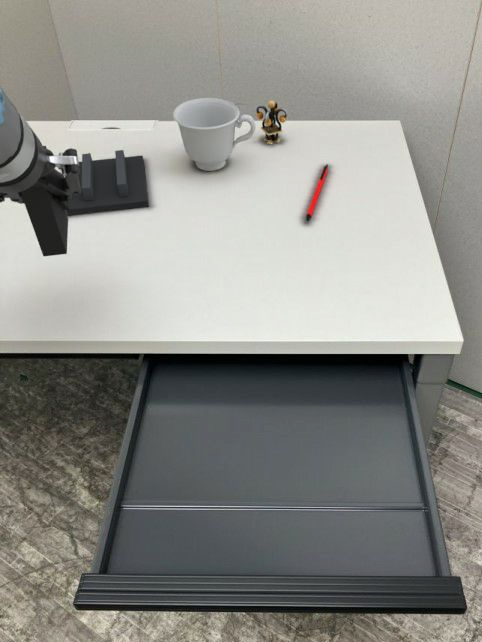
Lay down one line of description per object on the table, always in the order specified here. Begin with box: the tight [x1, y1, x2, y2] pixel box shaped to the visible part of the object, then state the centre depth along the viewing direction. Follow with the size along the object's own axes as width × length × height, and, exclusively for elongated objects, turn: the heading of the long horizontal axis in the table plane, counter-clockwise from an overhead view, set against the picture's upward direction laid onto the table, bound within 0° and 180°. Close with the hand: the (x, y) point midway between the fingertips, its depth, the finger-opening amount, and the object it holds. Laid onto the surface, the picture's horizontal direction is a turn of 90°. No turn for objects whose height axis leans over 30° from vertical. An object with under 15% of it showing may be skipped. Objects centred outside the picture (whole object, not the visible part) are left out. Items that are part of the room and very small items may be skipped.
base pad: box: [66, 149, 150, 217], centre depth 107 cm, size 14×16×4 cm
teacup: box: [172, 97, 256, 172], centre depth 110 cm, size 12×15×10 cm
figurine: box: [255, 100, 288, 145], centre depth 117 cm, size 5×5×8 cm
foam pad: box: [20, 145, 69, 257], centre depth 76 cm, size 3×8×11 cm, turn 12°
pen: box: [305, 164, 329, 223], centre depth 107 cm, size 1×19×1 cm, turn 167°
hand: (50, 201), depth 81 cm, fingers closed on foam pad, 3 cm apart
